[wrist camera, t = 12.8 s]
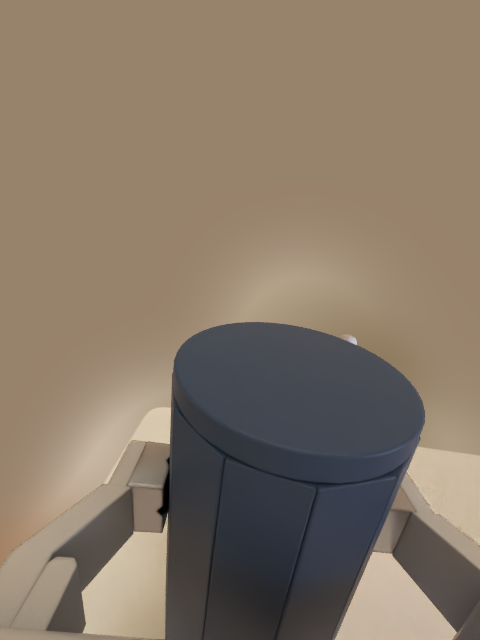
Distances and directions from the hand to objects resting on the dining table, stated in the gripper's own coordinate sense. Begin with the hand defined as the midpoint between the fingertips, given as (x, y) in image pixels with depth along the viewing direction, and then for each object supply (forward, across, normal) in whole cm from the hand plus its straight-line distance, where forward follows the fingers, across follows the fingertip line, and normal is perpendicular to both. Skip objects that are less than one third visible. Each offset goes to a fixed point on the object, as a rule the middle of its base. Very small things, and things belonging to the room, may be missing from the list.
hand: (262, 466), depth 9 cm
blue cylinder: (-1, 0, +6) cm, 6 cm away
